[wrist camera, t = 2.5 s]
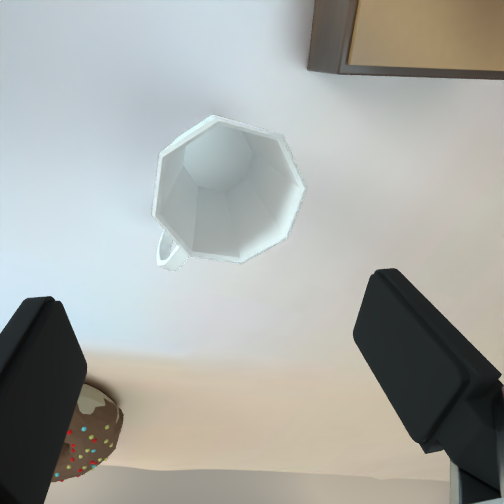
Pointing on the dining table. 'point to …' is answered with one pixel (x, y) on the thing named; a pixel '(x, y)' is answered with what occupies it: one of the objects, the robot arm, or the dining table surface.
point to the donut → (89, 434)
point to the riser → (409, 38)
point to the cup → (225, 193)
